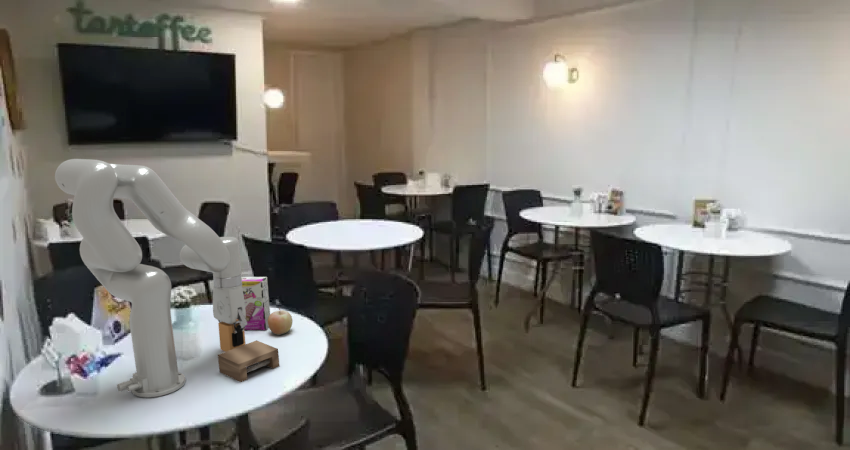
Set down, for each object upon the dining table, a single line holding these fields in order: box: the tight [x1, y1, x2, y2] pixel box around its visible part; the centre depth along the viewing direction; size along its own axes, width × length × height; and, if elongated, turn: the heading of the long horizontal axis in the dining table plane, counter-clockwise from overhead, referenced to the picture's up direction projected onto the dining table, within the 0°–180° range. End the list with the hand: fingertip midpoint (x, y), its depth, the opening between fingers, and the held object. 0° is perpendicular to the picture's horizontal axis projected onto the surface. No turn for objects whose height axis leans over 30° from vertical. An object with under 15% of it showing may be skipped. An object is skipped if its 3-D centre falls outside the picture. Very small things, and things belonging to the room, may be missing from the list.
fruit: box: [268, 307, 293, 336], centre depth 188 cm, size 8×7×8 cm
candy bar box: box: [241, 276, 271, 331], centre depth 192 cm, size 11×5×16 cm, turn 84°
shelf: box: [217, 340, 281, 383], centre depth 163 cm, size 12×10×5 cm
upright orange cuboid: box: [218, 319, 246, 352], centre depth 173 cm, size 5×5×8 cm
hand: (232, 342), depth 174 cm, fingers closed on upright orange cuboid, 5 cm apart
